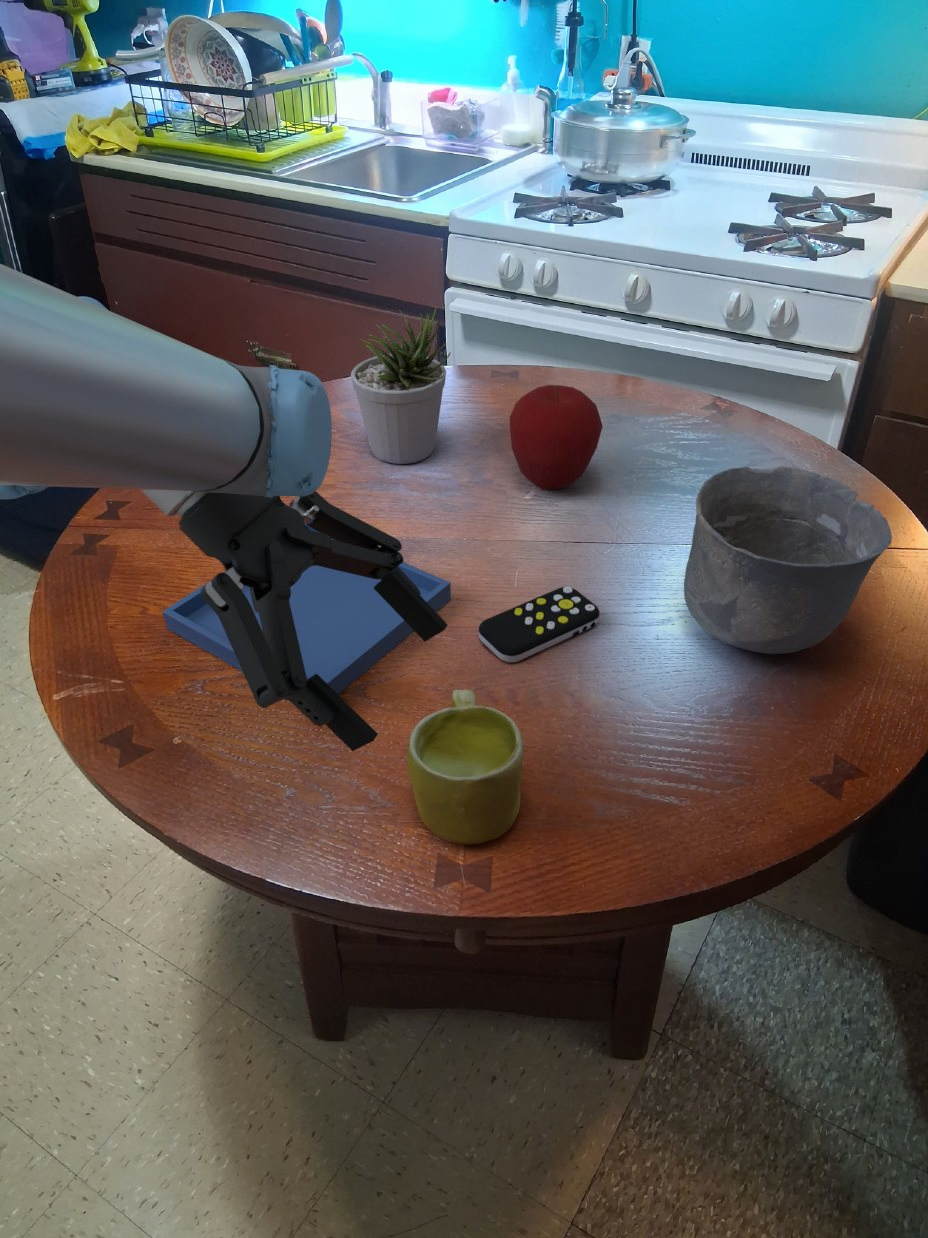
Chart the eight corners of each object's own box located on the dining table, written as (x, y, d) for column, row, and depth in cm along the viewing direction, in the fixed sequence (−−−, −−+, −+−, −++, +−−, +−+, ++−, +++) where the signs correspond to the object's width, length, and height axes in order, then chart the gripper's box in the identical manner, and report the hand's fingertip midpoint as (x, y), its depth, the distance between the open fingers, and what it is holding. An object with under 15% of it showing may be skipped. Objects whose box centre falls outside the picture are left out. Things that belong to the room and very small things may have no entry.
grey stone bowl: (858, 608, 95) (902, 488, 85) (834, 713, 82) (882, 587, 73) (696, 566, 101) (720, 450, 91) (651, 658, 89) (673, 535, 79)
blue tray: (315, 713, 83) (312, 695, 81) (166, 628, 93) (161, 611, 91) (451, 599, 96) (450, 582, 95) (308, 536, 106) (306, 519, 105)
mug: (537, 858, 68) (503, 754, 64) (415, 868, 71) (376, 770, 67) (553, 763, 78) (525, 668, 74) (447, 776, 82) (415, 686, 78)
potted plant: (384, 485, 115) (373, 337, 103) (344, 442, 125) (329, 301, 112) (467, 462, 120) (467, 318, 107) (423, 422, 129) (417, 285, 117)
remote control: (472, 636, 92) (472, 621, 90) (567, 594, 97) (569, 580, 96) (507, 669, 88) (507, 654, 86) (604, 624, 93) (606, 609, 92)
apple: (600, 505, 111) (610, 409, 103) (508, 505, 111) (511, 408, 103) (591, 459, 120) (600, 367, 112) (507, 459, 121) (509, 366, 112)
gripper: (272, 439, 77) (434, 611, 82) (77, 604, 59) (300, 811, 64) (319, 392, 72) (488, 578, 77) (122, 556, 54) (359, 784, 59)
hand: (403, 684), depth 70 cm, fingers open, 13 cm apart
